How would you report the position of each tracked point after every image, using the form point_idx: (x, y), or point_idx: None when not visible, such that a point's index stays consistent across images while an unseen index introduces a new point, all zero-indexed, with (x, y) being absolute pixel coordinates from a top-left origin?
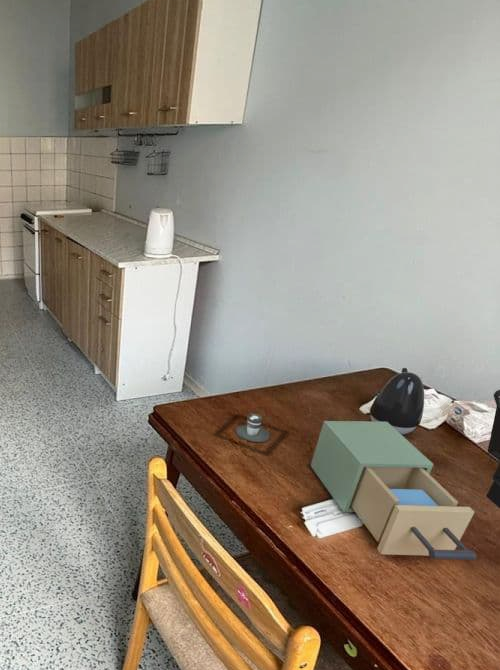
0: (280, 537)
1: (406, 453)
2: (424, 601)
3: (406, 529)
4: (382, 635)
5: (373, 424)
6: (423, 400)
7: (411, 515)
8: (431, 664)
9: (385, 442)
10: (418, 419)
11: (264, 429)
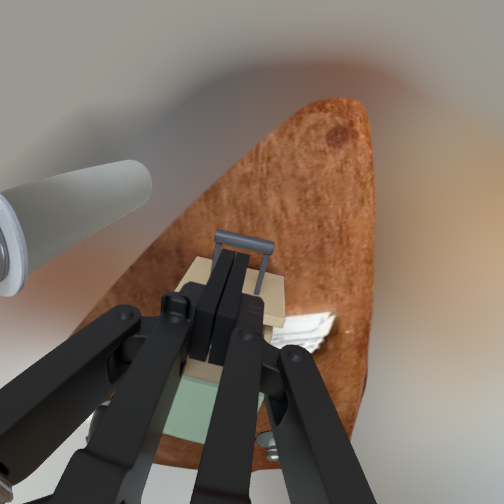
0: (371, 319)
1: (181, 395)
2: (283, 207)
3: (264, 294)
4: (369, 180)
5: (182, 434)
6: (92, 428)
7: (264, 309)
8: (346, 138)
9: (193, 414)
10: (101, 411)
11: (257, 441)
